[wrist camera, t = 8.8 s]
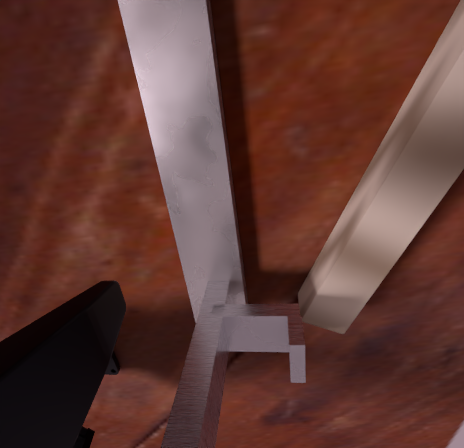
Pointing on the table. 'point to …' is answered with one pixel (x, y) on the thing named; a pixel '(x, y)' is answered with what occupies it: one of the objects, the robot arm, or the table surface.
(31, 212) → the table surface
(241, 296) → the standards
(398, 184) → the rail
